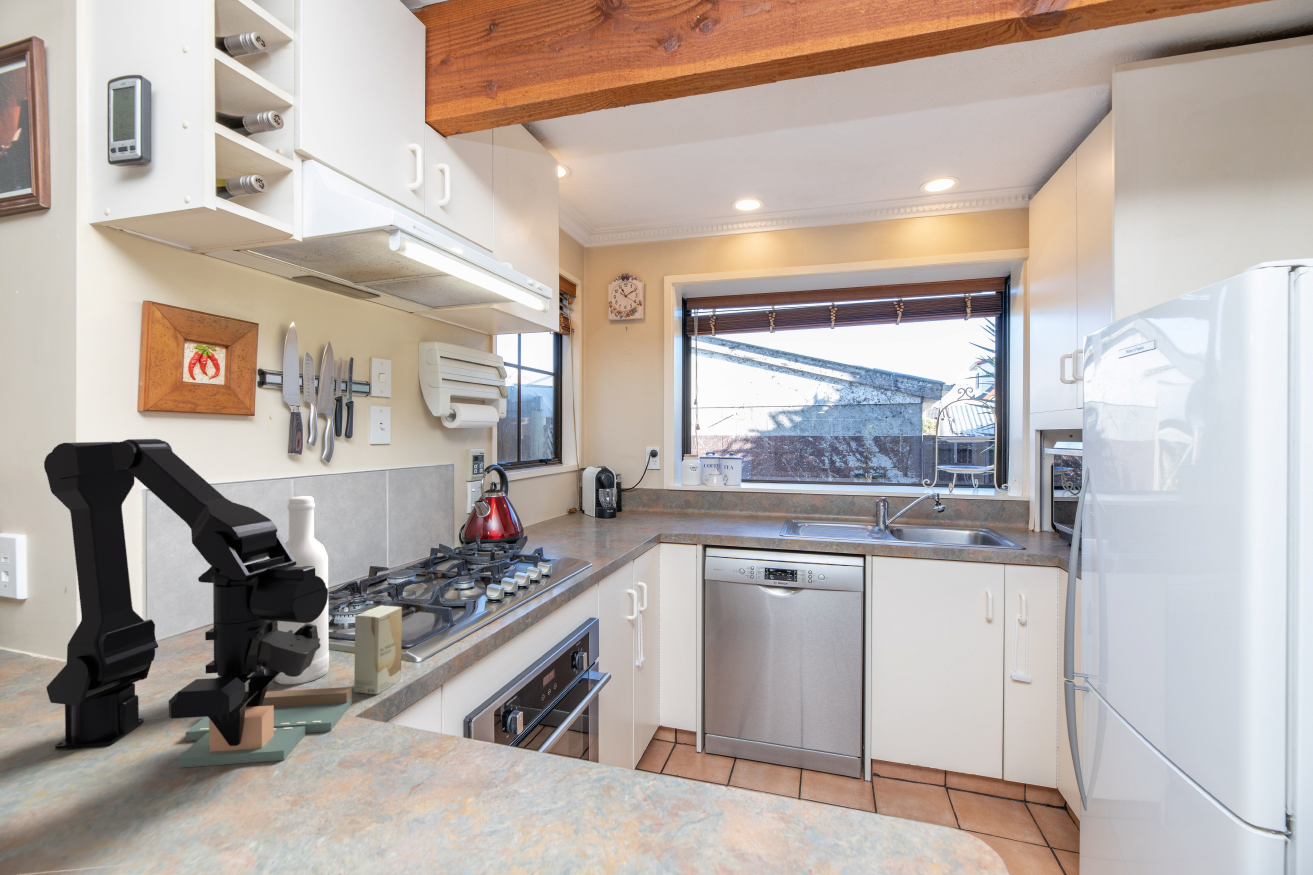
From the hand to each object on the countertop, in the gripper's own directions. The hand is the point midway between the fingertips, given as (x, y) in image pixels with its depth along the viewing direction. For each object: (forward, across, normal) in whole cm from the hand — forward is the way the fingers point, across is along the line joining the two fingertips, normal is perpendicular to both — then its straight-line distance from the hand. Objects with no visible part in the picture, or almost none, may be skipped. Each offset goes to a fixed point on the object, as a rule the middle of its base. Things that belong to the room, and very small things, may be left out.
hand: (242, 737), depth 75 cm
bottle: (+2, +24, +3) cm, 25 cm away
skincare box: (+2, +18, -11) cm, 21 cm away
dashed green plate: (+2, +8, 0) cm, 9 cm away
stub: (+2, 0, 0) cm, 2 cm away
